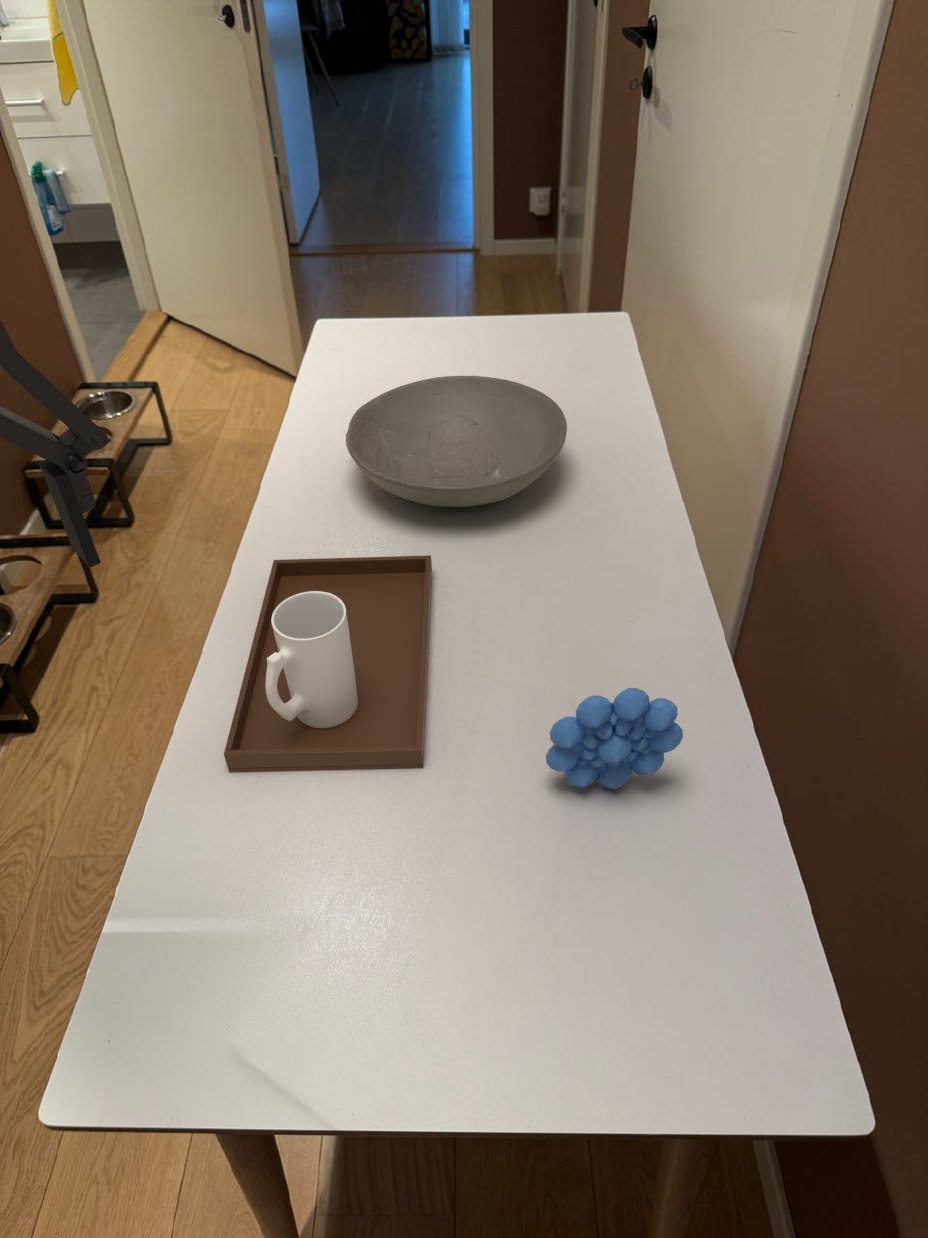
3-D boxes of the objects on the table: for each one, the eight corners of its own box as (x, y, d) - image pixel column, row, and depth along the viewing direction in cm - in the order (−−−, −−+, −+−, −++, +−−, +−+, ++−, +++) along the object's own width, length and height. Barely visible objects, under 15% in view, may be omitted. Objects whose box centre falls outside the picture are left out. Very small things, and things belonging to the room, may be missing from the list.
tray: (423, 768, 86) (421, 750, 84) (228, 772, 86) (223, 754, 85) (432, 572, 108) (431, 555, 106) (277, 576, 108) (273, 559, 106)
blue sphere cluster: (666, 746, 87) (681, 653, 79) (678, 805, 82) (696, 711, 74) (542, 749, 87) (544, 656, 79) (546, 807, 82) (550, 715, 74)
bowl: (406, 415, 136) (401, 362, 130) (589, 447, 127) (593, 392, 122) (314, 516, 117) (304, 459, 112) (521, 562, 108) (522, 503, 103)
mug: (323, 672, 95) (305, 582, 87) (374, 697, 92) (361, 606, 84) (255, 735, 89) (229, 644, 81) (308, 764, 86) (287, 672, 78)
